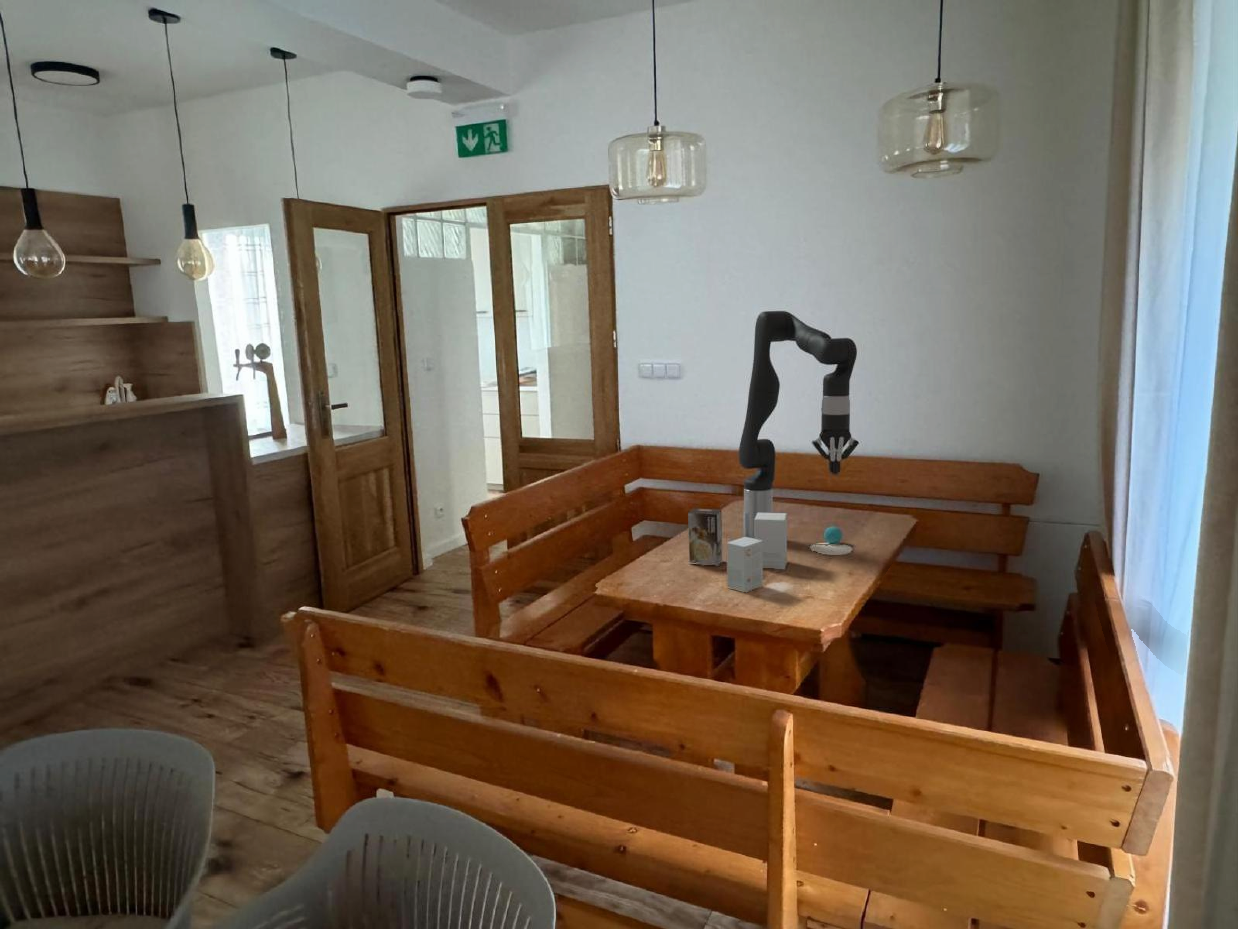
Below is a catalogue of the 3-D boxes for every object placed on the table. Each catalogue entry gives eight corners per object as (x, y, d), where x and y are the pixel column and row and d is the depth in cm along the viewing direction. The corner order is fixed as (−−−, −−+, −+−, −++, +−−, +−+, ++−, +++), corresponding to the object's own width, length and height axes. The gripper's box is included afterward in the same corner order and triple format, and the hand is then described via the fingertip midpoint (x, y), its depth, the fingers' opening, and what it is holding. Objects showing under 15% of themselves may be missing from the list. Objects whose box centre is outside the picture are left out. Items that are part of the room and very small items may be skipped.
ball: (824, 524, 264) (823, 540, 265) (825, 528, 258) (824, 545, 259) (841, 524, 263) (841, 541, 264) (843, 529, 257) (842, 546, 258)
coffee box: (723, 561, 247) (722, 509, 244) (718, 567, 241) (718, 514, 238) (693, 558, 250) (693, 507, 247) (688, 564, 244) (687, 512, 241)
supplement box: (787, 561, 245) (787, 512, 242) (785, 570, 236) (785, 520, 234) (757, 559, 247) (757, 511, 245) (753, 568, 239) (753, 518, 236)
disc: (814, 555, 250) (814, 554, 250) (806, 543, 262) (806, 543, 262) (857, 554, 249) (857, 554, 249) (846, 543, 262) (846, 542, 262)
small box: (745, 581, 227) (744, 536, 225) (763, 586, 223) (763, 540, 221) (726, 588, 222) (726, 542, 220) (744, 593, 217) (744, 546, 215)
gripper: (814, 414, 220) (813, 477, 223) (863, 412, 219) (862, 476, 222) (808, 410, 227) (807, 472, 230) (856, 409, 227) (855, 470, 230)
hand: (834, 473), depth 226 cm, fingers closed
